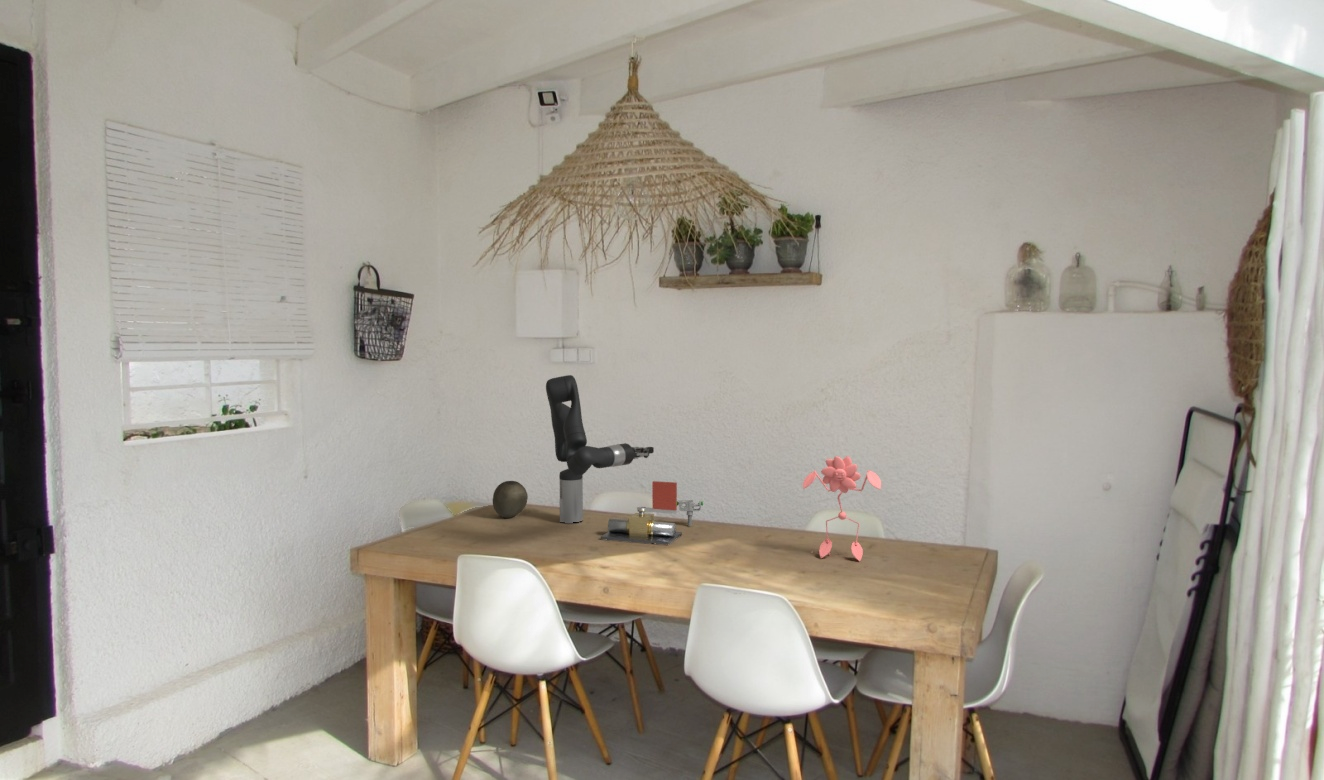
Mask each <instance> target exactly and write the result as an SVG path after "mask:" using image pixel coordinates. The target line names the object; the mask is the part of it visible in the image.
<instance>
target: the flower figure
mask: <svg viewBox="0 0 1324 780" xmlns="http://www.w3.org/2000/svg"><path fill="white" fill-rule="evenodd" d="M825 464H826V467H824V468H822V470H820V473H821V474H822V475H823V478H821V477H820V476H819V474H818V473H817V470H813V472H810V473H809V474H808V475H807V476H806V477H805V478H804V480H803V482H802V489H803V490H805V489H807V488H808V487H810V486H811V485H812V484H813V483H814V481H815V480H816V477H817V479H818V480H819V481H820V483H821V484H822V485H823V487H824V488H825V489H826V490H827V492H832V493H835V492H837V491H838V490H840V492H839V494H838V495H837V502H838V505H839V508H840V511H839V512H838V515H837V516H835V517H833V518H830V519H827V520H826V521H825V528H826V539H824V540H823V541H822V542H821V544H820V545H819V549H818V551H819V558H820V559H823V558H824V557H826V556H831V550H832V547H833V541H832V540H831V539H830V538H829V532H828V531H829V530H828V522H830V521H833V520H835V519H839V520H841V521H844V520H846V519H847V520H849V521H851V522H853V523H856V524H857V529H856V538H855V541H853V542H852V543H851V547H850V551H851V553H852V556H853V557H854V558H855V559H856V560H858V562H861V560H862V557H863V555H864V554H863V553H864V550H863V547H862V546H861V544H860V543H859V542H858V537H859V529H860V522H858V521H855V520H853V519H852V518H849V517H847V513H846V511H843V506H842V504H841V499H840V497H841V495H842V494H847V493H848V491H849V490H850V491H851V490H852V491H855V492H863V490H864V487H865V485H866V482H867V480H868V482H869V484H870V485H871V486H873V487H874V488H875V489H877V490H881V489H882V480H881V478H880V476H879V475H878V474H877V473H875V472H874V471H871V470H870V469H867V472H866V476H865V478H864V481H863V483H862V486H861V489H860V488H857V483H856V481H858V480H859V479H861V477H862V475H861V473H859V472H857V471H858V465H857V464H856V463H854V464H853V460H852V458H851V457H850V456H845V457H844V458H841V457H839V456H837V455H836V456H834V457H833V459H832V458H827V459H825ZM828 484H829V488H828V487H827V485H828ZM812 553H813V551H811V552H810V554H812Z"/></svg>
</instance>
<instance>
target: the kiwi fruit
mask: <svg viewBox="0 0 1324 780" xmlns="http://www.w3.org/2000/svg"><path fill="white" fill-rule="evenodd" d="M492 495H493V496H492V506H493V509H494V511H495V512H496V514H497V515H498V516H500V517H502V518H504V519H505V518H506V519H510V518H513V517H516V516H518V515H519V514H520V513H521V512H522V511H523V510H524V509H525V507H526V506H527V504H528V497H529V496H528V492H527V490H526V487H525V486H523V484H522V483H520V482H519V481H516V480H505V481H503V482H501V483H500V484H498V485H497V486H496V488H495V490H494V492H493V494H492Z"/></svg>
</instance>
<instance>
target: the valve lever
mask: <svg viewBox="0 0 1324 780" xmlns="http://www.w3.org/2000/svg"><path fill="white" fill-rule="evenodd" d="M651 484H652V500H651V501H652V507H646V506H637V507H636V509H637V510H636V511H637V513H639V512H644V513H645V512H647V513H658V514H659V513H661V514H673V515H675V514H677V513H678V505H677V501H678V482H674V481H673V482H672V481H671V482H670V481H659V480H654V481H652V483H651Z"/></svg>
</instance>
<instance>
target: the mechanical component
mask: <svg viewBox="0 0 1324 780" xmlns="http://www.w3.org/2000/svg"><path fill="white" fill-rule="evenodd" d="M683 505H685V506H683ZM703 505H704V501H701V500H699V501H698V503H697V504H695V503H694V500H693V499H692V500H691V499H690V500H688V499H687V500H686V499H685V500H683V499H680V500H677V506H678V509H679V511H681V512H686V515H687V527H688V526H691V527H692V525H693V522H692V519H693V518H692V517H693V515H694V513H693V512H699V511H701V510H702V506H703ZM694 507H695V508H694ZM697 507H698V508H697Z"/></svg>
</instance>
